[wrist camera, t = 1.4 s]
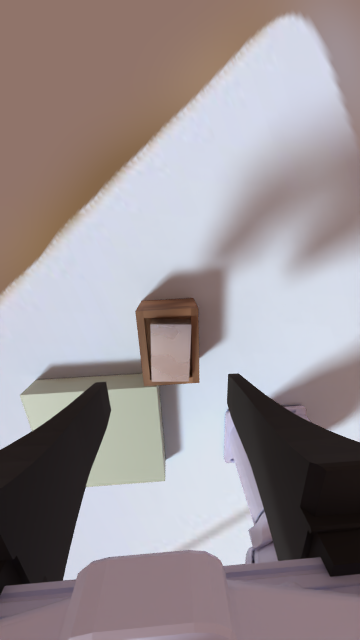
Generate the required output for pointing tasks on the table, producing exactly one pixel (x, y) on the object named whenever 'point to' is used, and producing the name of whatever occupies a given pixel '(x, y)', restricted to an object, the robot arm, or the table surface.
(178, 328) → the lid plate
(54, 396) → the stand
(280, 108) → the table surface
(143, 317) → the brown box
